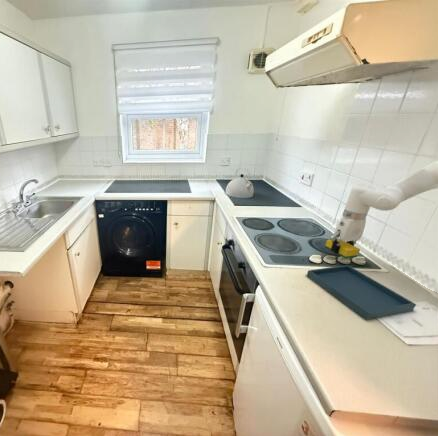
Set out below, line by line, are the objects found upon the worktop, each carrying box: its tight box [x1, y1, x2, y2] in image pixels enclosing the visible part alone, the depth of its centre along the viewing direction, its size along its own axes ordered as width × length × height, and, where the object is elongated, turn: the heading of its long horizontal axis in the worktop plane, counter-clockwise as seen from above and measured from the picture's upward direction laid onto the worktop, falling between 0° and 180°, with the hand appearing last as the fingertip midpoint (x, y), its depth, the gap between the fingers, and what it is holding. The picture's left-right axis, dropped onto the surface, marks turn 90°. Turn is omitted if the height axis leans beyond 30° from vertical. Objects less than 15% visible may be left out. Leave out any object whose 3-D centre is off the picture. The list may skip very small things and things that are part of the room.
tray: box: [306, 264, 417, 321], centre depth 88 cm, size 20×24×3 cm
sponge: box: [324, 239, 361, 260], centre depth 106 cm, size 10×6×4 cm, turn 12°
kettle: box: [224, 166, 255, 199], centre depth 198 cm, size 25×23×22 cm
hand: (340, 251), depth 107 cm, fingers closed on sponge, 6 cm apart
